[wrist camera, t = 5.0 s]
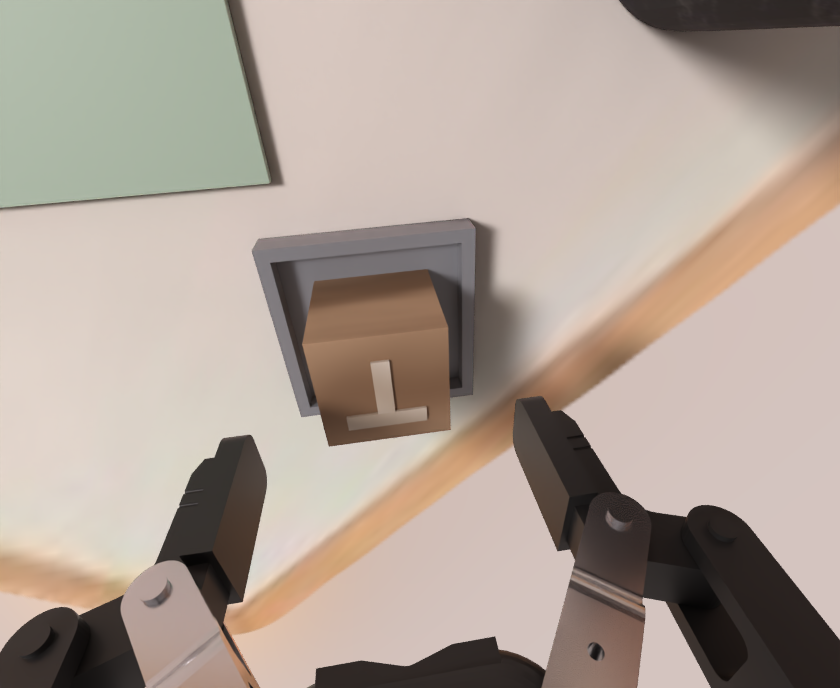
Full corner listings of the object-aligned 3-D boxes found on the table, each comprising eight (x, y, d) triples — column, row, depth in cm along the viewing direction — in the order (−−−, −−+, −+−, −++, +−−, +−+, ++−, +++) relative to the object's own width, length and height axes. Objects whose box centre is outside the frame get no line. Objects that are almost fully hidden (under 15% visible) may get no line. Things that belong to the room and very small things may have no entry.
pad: (-380, -307, 8) (-411, -323, 8) (151, -308, 9) (143, -323, 9) (-37, 208, 14) (-46, 211, 13) (271, 180, 15) (269, 183, 14)
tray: (258, 239, 16) (251, 251, 15) (468, 218, 16) (475, 228, 15) (304, 399, 20) (301, 417, 19) (467, 378, 21) (472, 394, 20)
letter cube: (313, 281, 16) (301, 346, 13) (427, 268, 17) (448, 329, 13) (334, 373, 19) (329, 450, 15) (432, 361, 19) (450, 433, 16)
